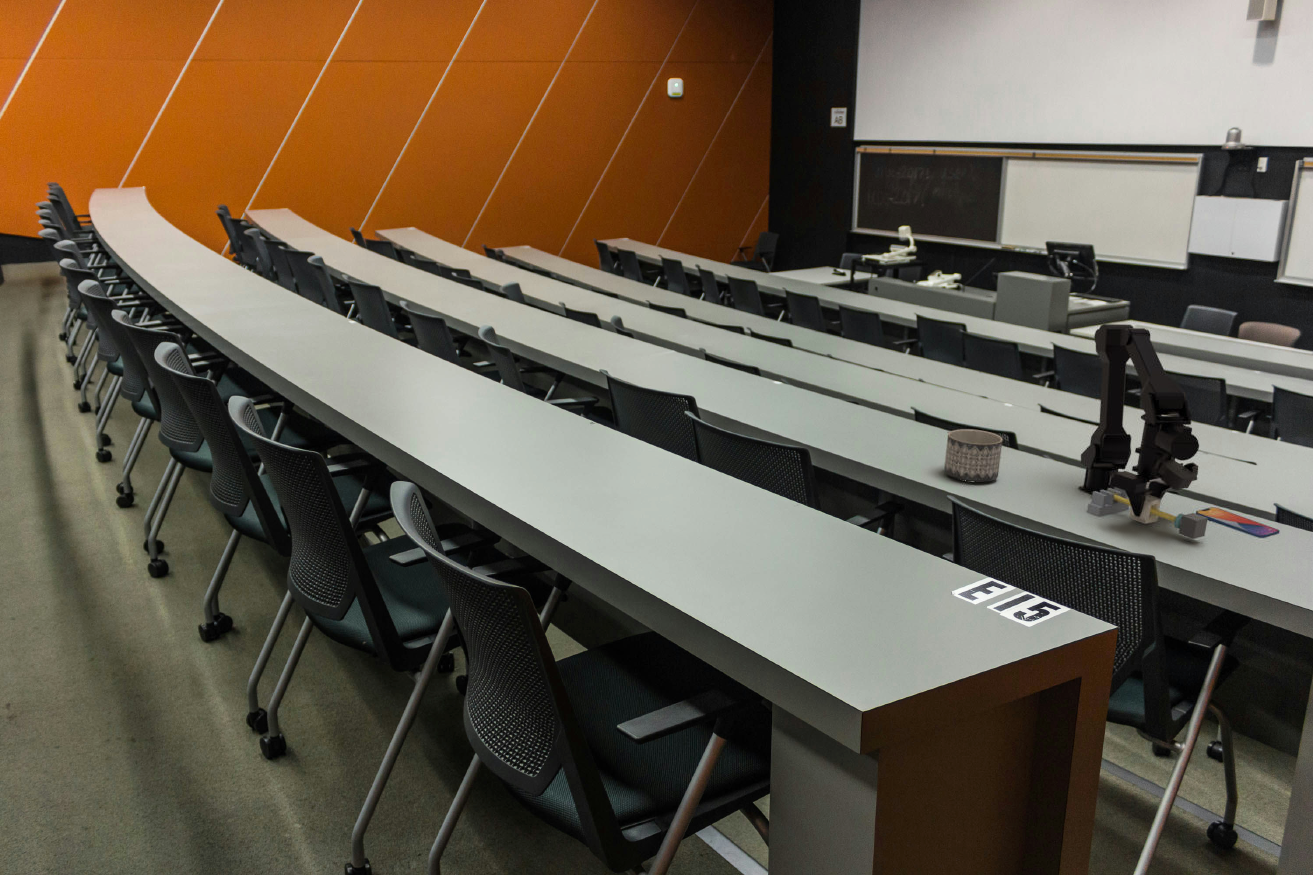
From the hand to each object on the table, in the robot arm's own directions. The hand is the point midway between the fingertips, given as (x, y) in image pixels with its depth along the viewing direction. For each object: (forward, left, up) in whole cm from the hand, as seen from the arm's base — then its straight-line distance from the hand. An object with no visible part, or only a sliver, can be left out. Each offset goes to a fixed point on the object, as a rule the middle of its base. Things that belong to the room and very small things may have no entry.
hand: (1143, 514), depth 206 cm
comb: (-9, 0, -2) cm, 9 cm away
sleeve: (0, 0, -2) cm, 2 cm away
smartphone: (+9, +19, -3) cm, 21 cm away
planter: (-39, -11, -2) cm, 41 cm away
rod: (0, 0, +1) cm, 1 cm away
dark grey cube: (+11, 0, -1) cm, 11 cm away
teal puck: (+8, 0, 0) cm, 8 cm away
